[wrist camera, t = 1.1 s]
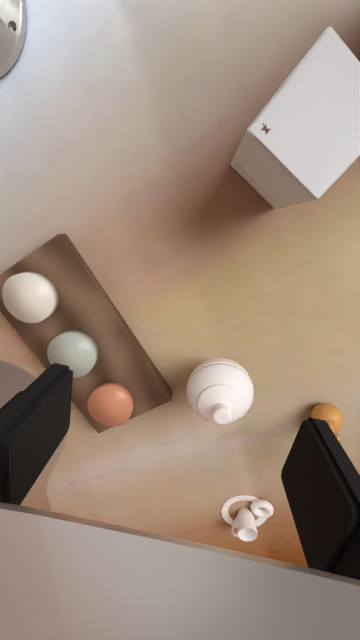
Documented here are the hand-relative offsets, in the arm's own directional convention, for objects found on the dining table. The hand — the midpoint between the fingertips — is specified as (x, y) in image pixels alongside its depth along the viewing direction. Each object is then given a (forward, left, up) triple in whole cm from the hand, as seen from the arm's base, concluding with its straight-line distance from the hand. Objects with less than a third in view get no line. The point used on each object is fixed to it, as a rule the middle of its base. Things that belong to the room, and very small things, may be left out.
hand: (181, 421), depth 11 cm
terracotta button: (-4, -19, -23) cm, 30 cm away
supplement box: (+2, +16, -26) cm, 31 cm away
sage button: (-11, -14, -23) cm, 29 cm away
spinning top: (+7, -9, -26) cm, 29 cm away
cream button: (-18, -9, -23) cm, 30 cm away
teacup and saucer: (+27, -33, -27) cm, 50 cm away
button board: (-11, -14, -26) cm, 32 cm away
